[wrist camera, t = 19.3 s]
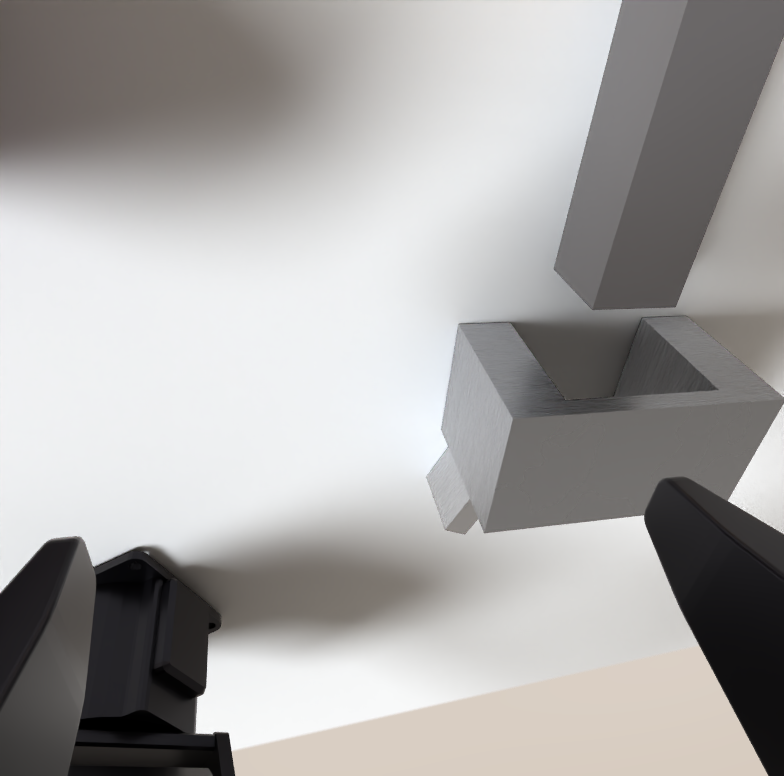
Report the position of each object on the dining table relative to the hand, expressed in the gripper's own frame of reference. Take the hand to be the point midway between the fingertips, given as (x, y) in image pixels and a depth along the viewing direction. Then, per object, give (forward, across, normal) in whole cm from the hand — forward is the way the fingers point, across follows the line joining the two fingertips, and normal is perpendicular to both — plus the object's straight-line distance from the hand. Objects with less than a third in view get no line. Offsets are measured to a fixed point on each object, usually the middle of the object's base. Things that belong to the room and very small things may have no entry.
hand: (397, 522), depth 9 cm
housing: (+12, -10, +8) cm, 17 cm away
